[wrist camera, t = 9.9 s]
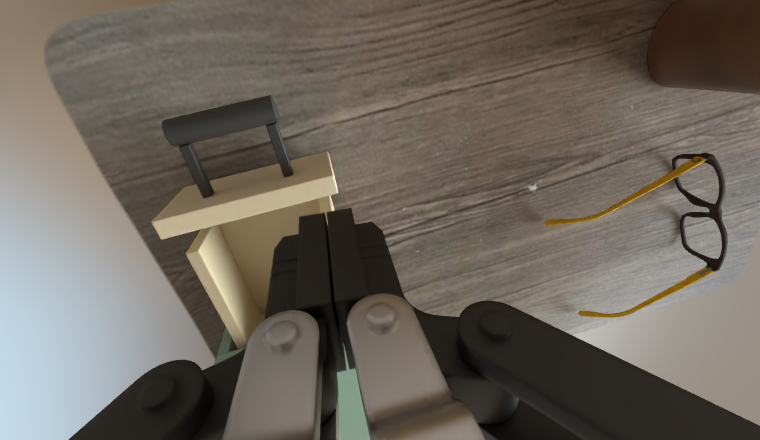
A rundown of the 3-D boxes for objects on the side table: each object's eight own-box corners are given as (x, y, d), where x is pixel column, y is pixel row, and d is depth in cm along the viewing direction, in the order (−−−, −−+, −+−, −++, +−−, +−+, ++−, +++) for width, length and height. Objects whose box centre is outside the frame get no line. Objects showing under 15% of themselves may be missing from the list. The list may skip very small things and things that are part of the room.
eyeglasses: (690, 246, 38) (730, 266, 34) (576, 312, 39) (603, 338, 35) (679, 138, 31) (726, 148, 28) (542, 221, 32) (571, 241, 29)
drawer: (149, 119, 22) (101, 137, 17) (308, 82, 23) (309, 88, 18) (249, 318, 30) (237, 372, 24) (364, 284, 30) (376, 330, 25)
